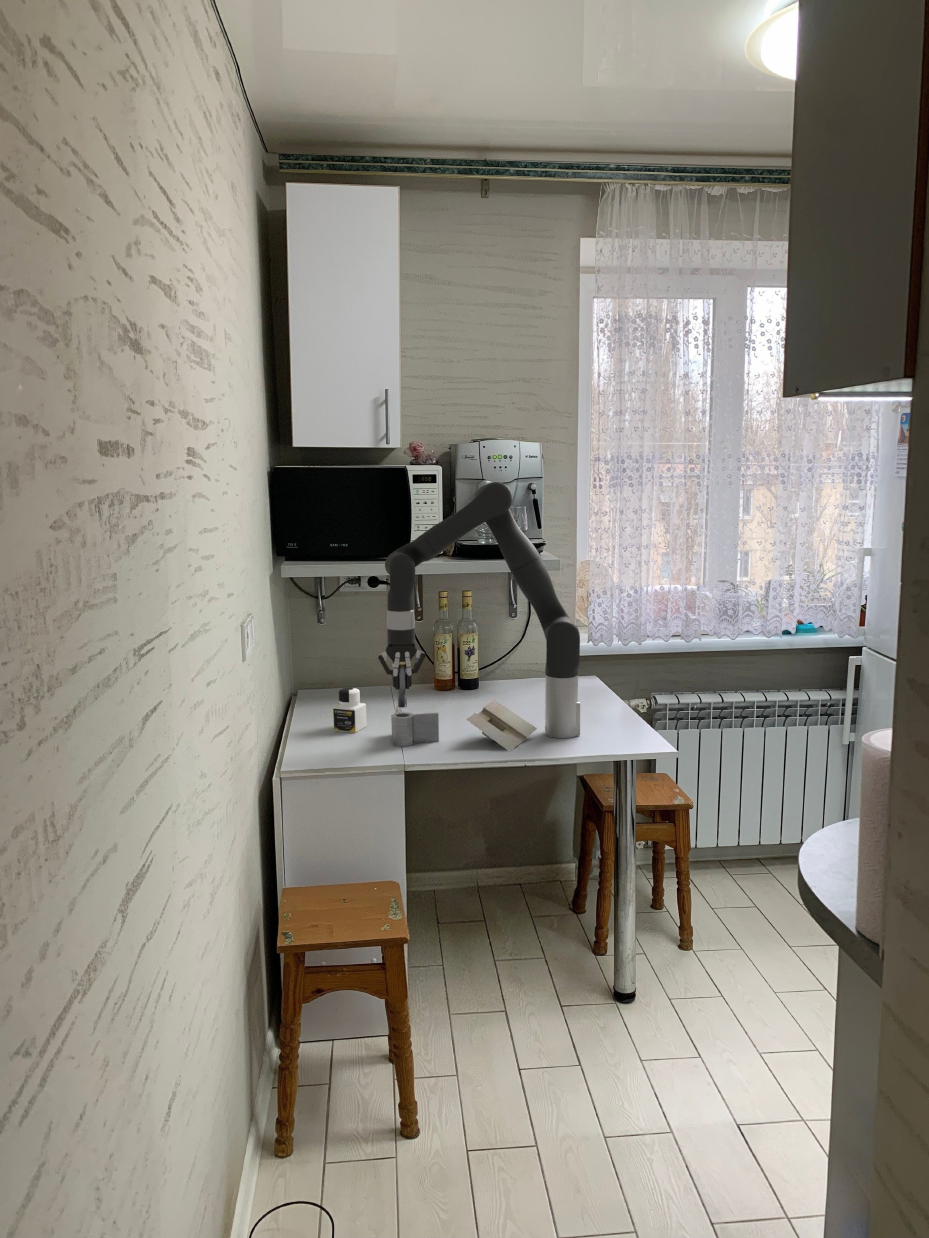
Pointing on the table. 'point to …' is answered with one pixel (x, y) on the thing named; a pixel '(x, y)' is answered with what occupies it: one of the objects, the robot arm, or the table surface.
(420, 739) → the hinge
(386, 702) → the table surface
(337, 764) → the table surface
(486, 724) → the beige folded piece
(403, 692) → the pin
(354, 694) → the medicine bottle
